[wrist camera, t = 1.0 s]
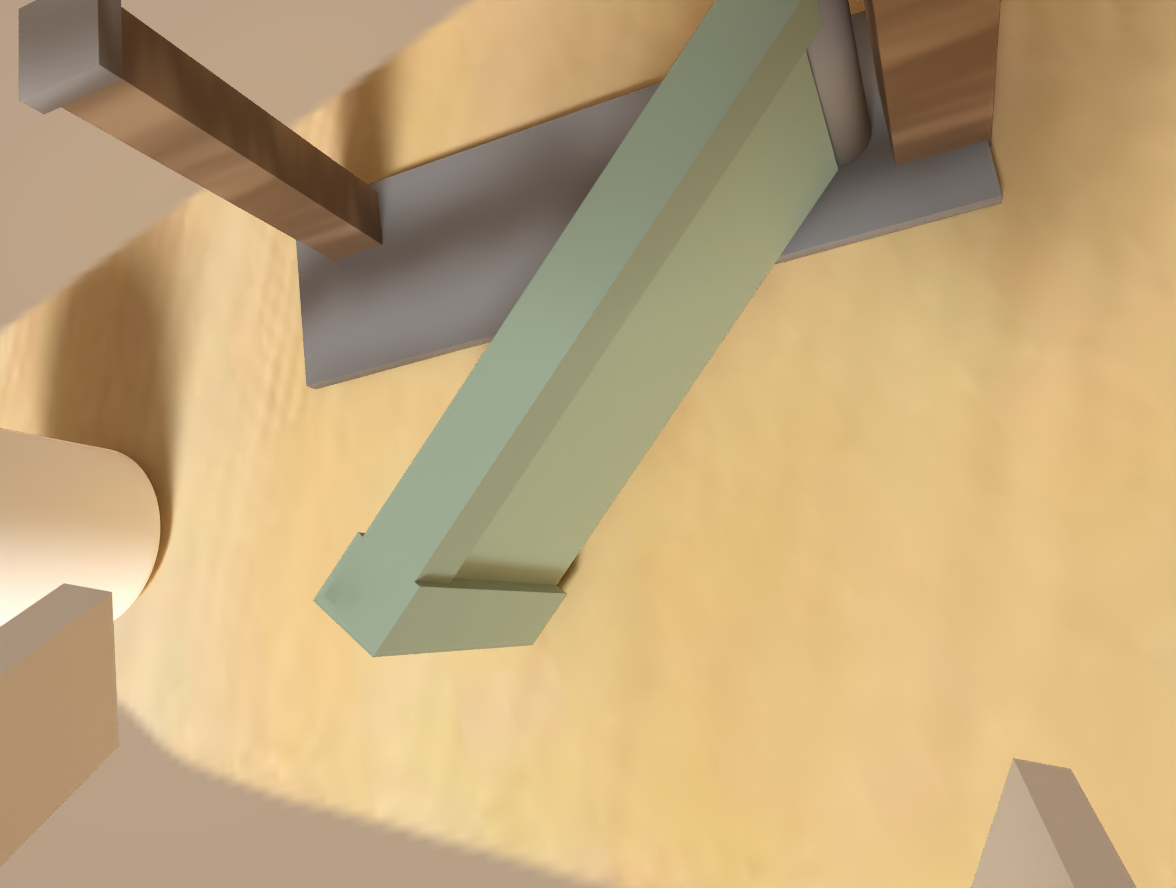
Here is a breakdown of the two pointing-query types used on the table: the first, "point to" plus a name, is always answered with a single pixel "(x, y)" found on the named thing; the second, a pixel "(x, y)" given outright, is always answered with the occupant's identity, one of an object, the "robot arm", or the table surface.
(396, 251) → the gate frame
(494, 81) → the table surface
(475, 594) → the gate
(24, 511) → the white cylinder
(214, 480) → the table surface
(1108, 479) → the table surface
